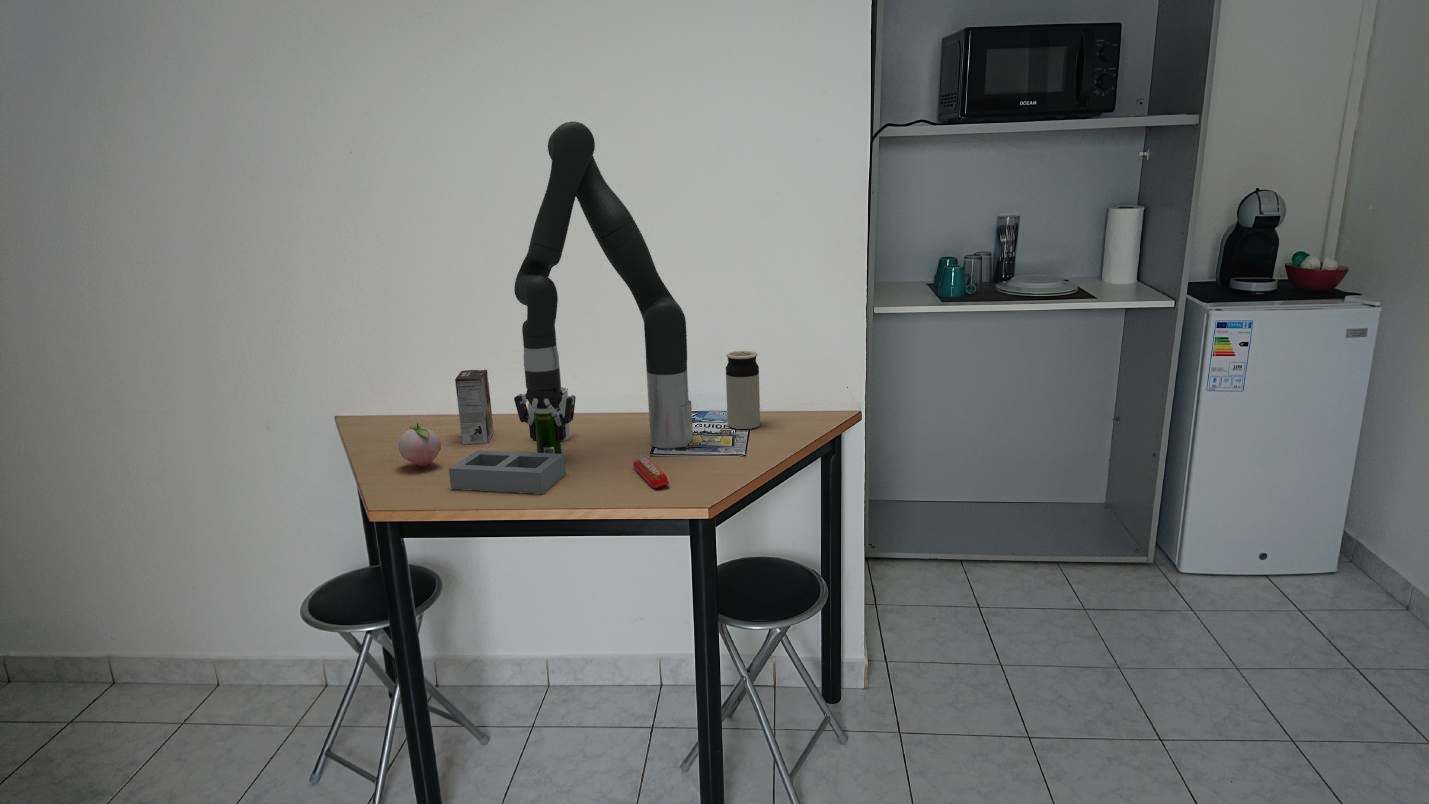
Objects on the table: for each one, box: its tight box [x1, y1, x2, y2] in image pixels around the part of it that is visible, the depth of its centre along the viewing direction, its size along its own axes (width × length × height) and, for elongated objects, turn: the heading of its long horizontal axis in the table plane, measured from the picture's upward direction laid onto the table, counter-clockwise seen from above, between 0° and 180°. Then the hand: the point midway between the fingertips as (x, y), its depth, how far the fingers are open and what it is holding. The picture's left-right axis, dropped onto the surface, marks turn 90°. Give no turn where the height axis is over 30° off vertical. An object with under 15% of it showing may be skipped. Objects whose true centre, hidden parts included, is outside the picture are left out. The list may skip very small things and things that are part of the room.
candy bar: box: [632, 456, 670, 489], centre depth 185 cm, size 16×4×3 cm, turn 21°
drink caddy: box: [448, 449, 566, 495], centre depth 185 cm, size 20×12×4 cm, turn 76°
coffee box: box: [454, 369, 495, 445], centre depth 215 cm, size 9×6×16 cm
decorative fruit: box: [397, 422, 442, 468], centre depth 196 cm, size 9×8×10 cm
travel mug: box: [725, 350, 761, 430], centre depth 217 cm, size 8×8×18 cm
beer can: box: [534, 407, 563, 454], centre depth 199 cm, size 5×5×12 cm
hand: (548, 440), depth 199 cm, fingers closed on beer can, 5 cm apart
